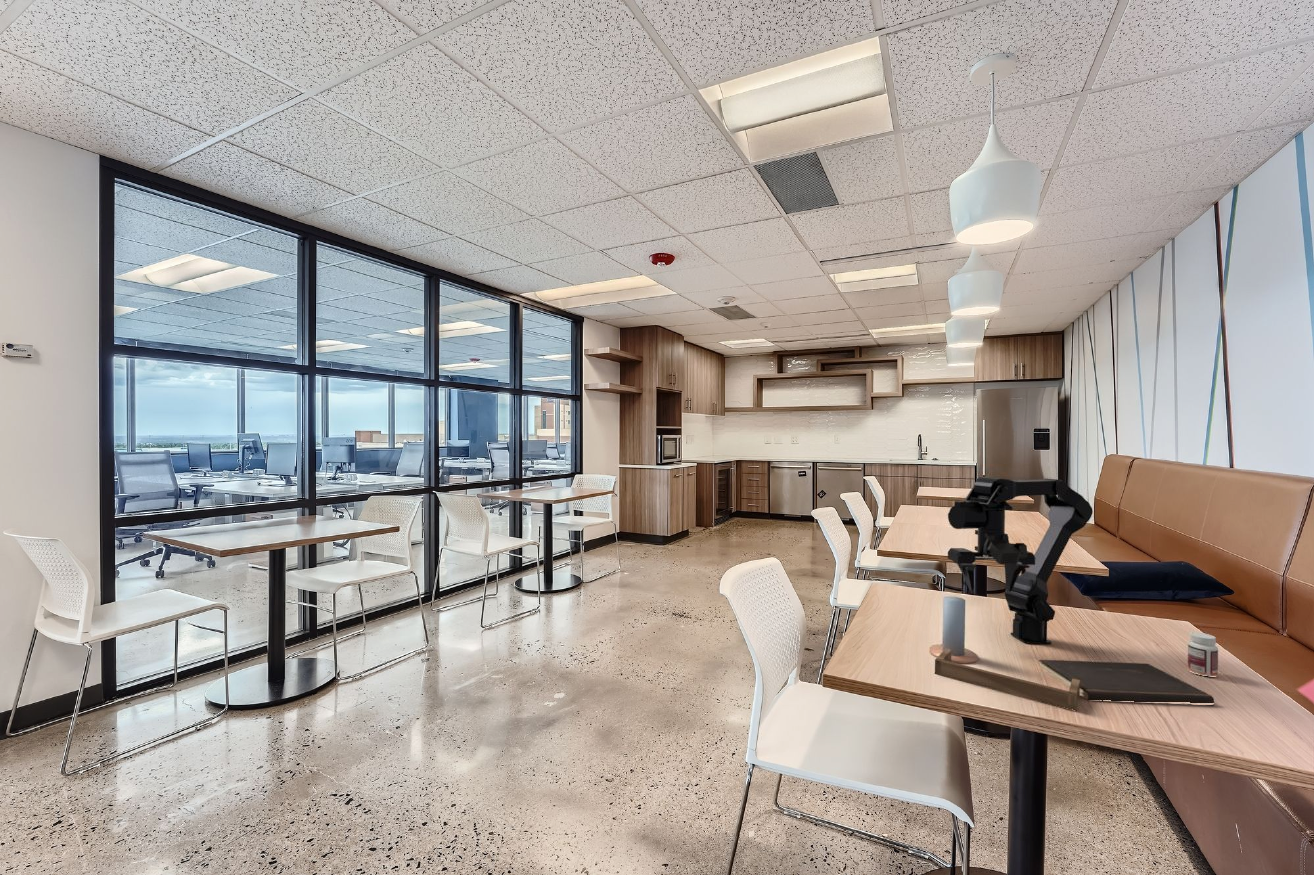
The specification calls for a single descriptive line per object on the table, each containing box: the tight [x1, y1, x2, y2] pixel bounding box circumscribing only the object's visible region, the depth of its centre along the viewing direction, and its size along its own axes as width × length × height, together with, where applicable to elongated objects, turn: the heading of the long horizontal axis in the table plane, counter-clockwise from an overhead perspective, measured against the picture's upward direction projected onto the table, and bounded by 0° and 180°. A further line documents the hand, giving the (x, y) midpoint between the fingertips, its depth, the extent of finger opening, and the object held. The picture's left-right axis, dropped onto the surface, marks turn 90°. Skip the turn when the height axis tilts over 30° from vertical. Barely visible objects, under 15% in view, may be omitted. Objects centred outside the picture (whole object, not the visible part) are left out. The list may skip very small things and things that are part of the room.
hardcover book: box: [1038, 659, 1215, 704], centre depth 116 cm, size 16×23×2 cm
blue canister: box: [941, 595, 966, 656], centre depth 131 cm, size 5×5×12 cm
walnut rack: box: [934, 649, 1081, 711], centre depth 116 cm, size 9×24×3 cm, turn 49°
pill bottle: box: [1187, 632, 1219, 677], centre depth 123 cm, size 5×5×8 cm
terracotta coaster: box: [928, 643, 979, 665], centre depth 131 cm, size 10×10×1 cm
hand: (990, 590), depth 139 cm, fingers open, 9 cm apart
